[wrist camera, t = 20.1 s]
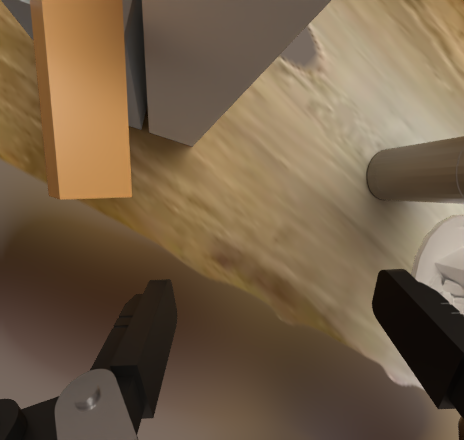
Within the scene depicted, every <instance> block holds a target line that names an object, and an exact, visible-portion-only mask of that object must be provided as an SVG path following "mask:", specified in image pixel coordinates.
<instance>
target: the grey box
mask: <svg viewBox="0 0 464 440" xmlns="http://www.w3.org/2000/svg"><path fill="white" fill-rule="evenodd" d="M1 1H2V2H3V3H4V4H5V6H6V7H7V8H8V9H9V11H10V12H11V13H12V14H13V16H14V17H15V18H16V19H17V21H18V22H19V23H20V24H21V26H22V27H23V28H24V29H25V31H26V32H27V33H28V34H29V36H30V37H31V38H32V39H33V29H32V19H31V9H30V0H1ZM122 3H123V23H124V43H125V64H126V84H127V104H128V125H129V126H131V127H134V128H137V129H140V130H142V126H143V121H144V117H145V113H146V109H147V105H148V103H147V85H146V67H145V48H144V30H143V12H142V0H122ZM33 41H34V39H33Z"/></svg>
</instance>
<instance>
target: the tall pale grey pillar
mask: <svg viewBox="0 0 464 440" xmlns="http://www.w3.org/2000/svg"><path fill="white" fill-rule="evenodd" d="M330 1H331V0H142V12H143V30H144V48H145V67H146V85H147V103H148V121H149V133H152V134H155V135H158V136H161V137H164V138H167V139H170V140H174V141H177V142H180V143H183V144H186V145H189V146H192V147H193V146H194V145H195V144H196V143H197V141H198V140H199V139H200V138H201V137H202V136H203V135H204V134H205V133H206V132H207V131H208V130H209V129H210V128H211V127H212V126H213V125H214V124H215V122H216V121H217V120H218V119H219V118H220V117H221V116H222V115H223V114H224V113H225V112H226V111H227V110H228V109H229V108H230V107H231V106H232V105H233V103H234V102H235V101H236V100H237V99H238V98H239V97H240V96H241V95H242V94H243V93H244V92H245V91H246V90H247V89H248V88H249V87H250V86H251V84H252V83H253V82H254V81H255V80H256V79H257V78H258V77H259V76H260V75H261V74H262V73H263V72H264V71H265V70H266V69H267V68H268V67H269V65H270V64H271V63H272V62H273V61H274V60H275V59H276V58H277V57H278V56H279V55H280V54H281V53H282V52H283V51H284V50H285V49H286V48H287V46H288V45H289V44H290V43H291V42H292V41H293V40H294V39H295V38H296V37H297V36H298V35H299V34H300V33H301V32H302V30H304V29H305V27H306V26H307V25H308V24H309V23H310V22H311V21H312V20H313V19H314V18H315V17H316V16H317V15H318V14H319V13H320V12H321V11H322V10H323V9H324V7H325V6H326V5H327V4H328V3H329V2H330Z"/></svg>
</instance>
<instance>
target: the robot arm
mask: <svg viewBox="0 0 464 440" xmlns="http://www.w3.org/2000/svg"><path fill="white" fill-rule="evenodd" d="M367 181H368V186H369V188H370V190H371V192H372V193H373V195H374V196H376V197H377V198H379V199H382V200H395V201H415V202H437V203H460V204H464V136H463V137H457V138H451V139H445V140H439V141H433V142H428V143H422V144H416V145H410V146H403V147H397V148H391V149H386V150H382V151H380V152H379V153H377V154H376V155H375V156H374V157H373V159H372V160H371V162H370V164H369V168H368V173H367ZM372 308H373V312H374V315H375V317H376V319H377V320H378V322H379V323H380V325H381V326H382V328H383V329H384V331H385V332H386V334H387V335H388V337H389V338H390V339H391V341H392V342H393V344H394V345H395V347H396V348H397V350H398V351H399V353H400V354H401V356H402V357H403V358H404V360H405V361H406V363H407V364H408V366H409V367H410V369H411V370H412V372H413V373H414V375H415V376H416V377H417V379H418V380H419V382H420V383H421V385H422V386H423V388H424V389H425V391H426V392H427V394H428V395H429V396H430V398H431V399H432V401H433V402H434V404H435V405H436V407H437V408H438V409H455V408H456V410H457V411H458V412H459V414H460V415H461V417H460V419H459V423H458V430H459V440H464V315H463V314H460V311H459V310H458V309H456V308H455V307H454V306H453V305H452V304H451V305H450V303H449V301H448V300H446V299H445V298H444V297H443V296H442V295H441V294H440V293H439V292H438V291H436V290H434V289H432V288H431V287H429V286H427V285H425V284H424V283H422V282H418V281H417V280H416V279H415V278H414V277H413V276H412V275H410V274H409V273H408V272H407V271H406V270H404V269H391V270H381V271H380V272H379V274H378V277H377V282H376V286H375V291H374V296H373V300H372ZM176 324H177V308H176V303H175V298H174V293H173V287H172V283H171V280H170V279H166V280H150V281H149V283H148V285H147V287H146V290H145V291H144V293H143V294H136V295H135V296H134V297H133V298H132V299H130V300H129V301H128V302H127V303H126V304H125V306H124V308H123V310H122V311H121V313H120V315H119V318H118V319H117V321H116V323H115V325H114V328H113V329H112V330H111V332H110V334H109V336H108V338H107V340H106V342H105V343H104V345H103V347H102V349H101V351H100V353H99V355H98V356H97V358H96V360H95V362H94V364H93V366H92V368H91V369H90V371H88V372H86V373H84V374H82V375H80V376H79V377H77V378H76V379H74V380H73V381H72V382H71V383H70V384H69V385H68V386H67V387H66V388H65V389H64V390H63V392H62V393H61V395H60V396H58V397H56V398H53V399H50V400H47V401H44V402H41V403H38V404H35V405H33V406H30V407H27V408H24V409H20V407H19V406H18V404H17V403H16V402H15V401H14V400H11V399H0V440H138V437H137V432H138V429H139V426H140V422H141V419H142V418H153V417H154V413H155V409H156V405H157V401H158V397H159V393H160V389H161V385H162V381H163V377H164V373H165V369H166V365H167V361H168V357H169V353H170V349H171V345H172V341H173V337H174V333H175V329H176Z"/></svg>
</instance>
